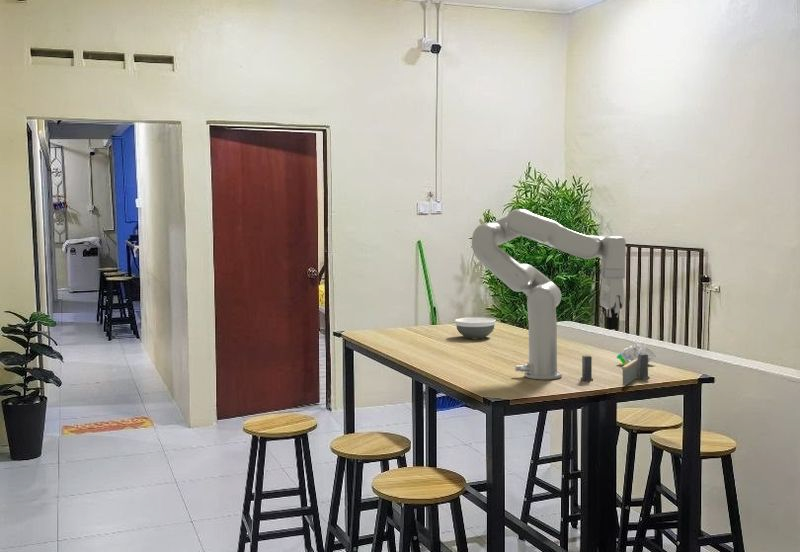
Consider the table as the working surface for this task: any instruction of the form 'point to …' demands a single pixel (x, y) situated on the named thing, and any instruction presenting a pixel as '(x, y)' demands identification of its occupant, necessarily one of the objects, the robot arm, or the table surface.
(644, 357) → the gate posts
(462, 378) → the table surface
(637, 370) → the gate leaf
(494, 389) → the table surface
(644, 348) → the crumpled plastic bottle
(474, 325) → the bowl
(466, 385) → the table surface
